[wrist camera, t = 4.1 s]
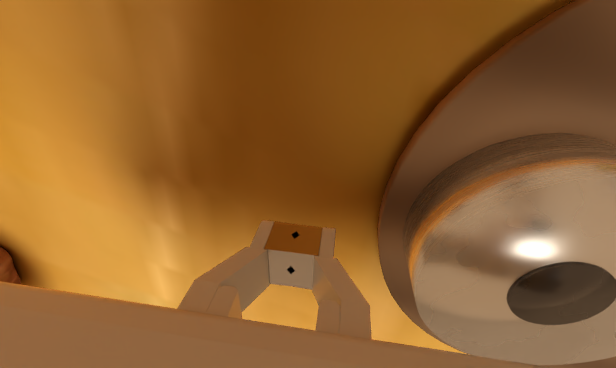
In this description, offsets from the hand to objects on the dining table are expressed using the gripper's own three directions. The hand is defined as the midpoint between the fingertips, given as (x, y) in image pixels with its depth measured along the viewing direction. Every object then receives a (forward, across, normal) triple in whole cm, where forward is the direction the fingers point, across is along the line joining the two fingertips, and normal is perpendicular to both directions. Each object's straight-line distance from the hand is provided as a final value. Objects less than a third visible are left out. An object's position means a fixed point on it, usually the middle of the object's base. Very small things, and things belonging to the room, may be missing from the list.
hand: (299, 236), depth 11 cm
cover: (+2, -9, 0) cm, 9 cm away
